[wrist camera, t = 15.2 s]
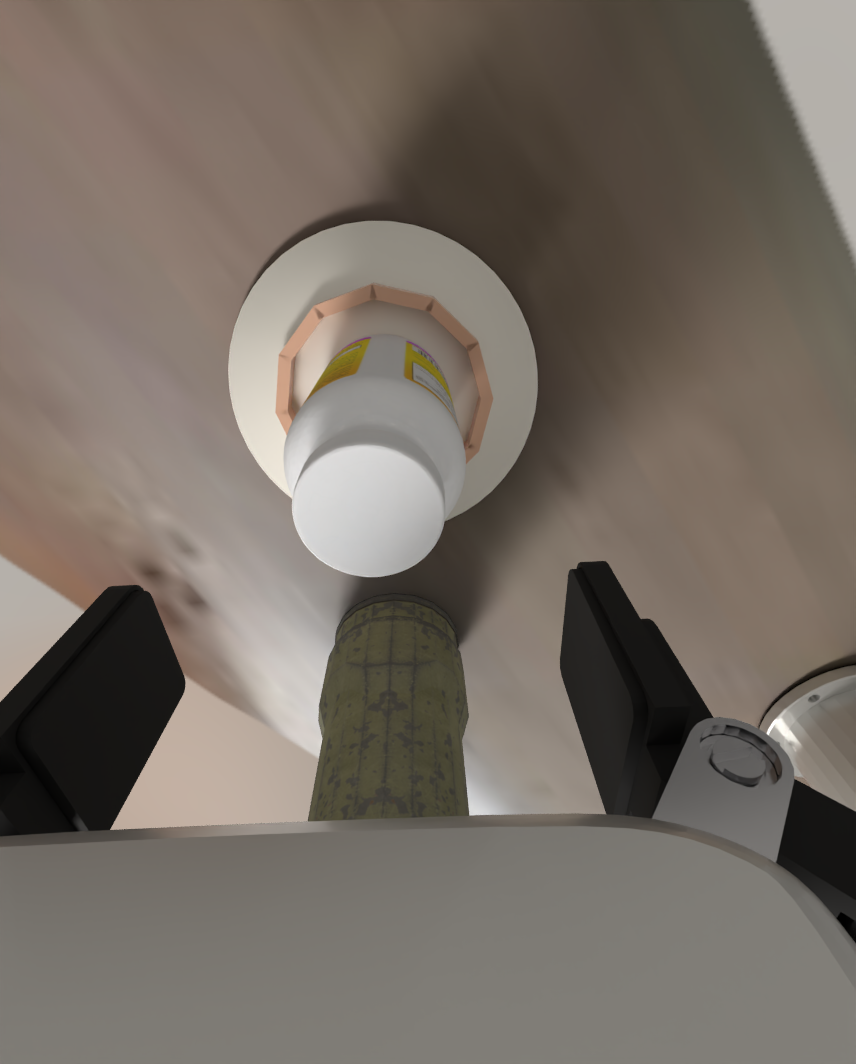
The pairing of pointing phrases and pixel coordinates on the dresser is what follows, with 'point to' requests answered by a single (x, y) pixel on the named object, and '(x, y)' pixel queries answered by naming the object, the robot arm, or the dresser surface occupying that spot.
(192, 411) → the dresser surface
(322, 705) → the olive tall rounded piece
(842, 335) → the dresser surface
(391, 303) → the ring stand
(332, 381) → the supplement bottle
